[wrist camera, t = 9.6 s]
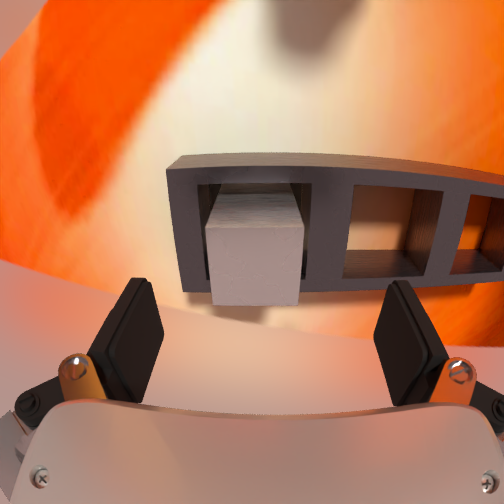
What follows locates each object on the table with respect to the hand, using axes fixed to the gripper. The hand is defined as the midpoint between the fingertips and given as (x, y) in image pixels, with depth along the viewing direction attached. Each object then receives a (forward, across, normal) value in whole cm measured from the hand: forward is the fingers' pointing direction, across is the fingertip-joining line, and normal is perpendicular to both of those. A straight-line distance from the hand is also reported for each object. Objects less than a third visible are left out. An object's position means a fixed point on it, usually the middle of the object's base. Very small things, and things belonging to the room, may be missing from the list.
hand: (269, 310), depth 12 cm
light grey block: (+12, +1, +1) cm, 12 cm away
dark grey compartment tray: (+12, -8, +1) cm, 14 cm away
